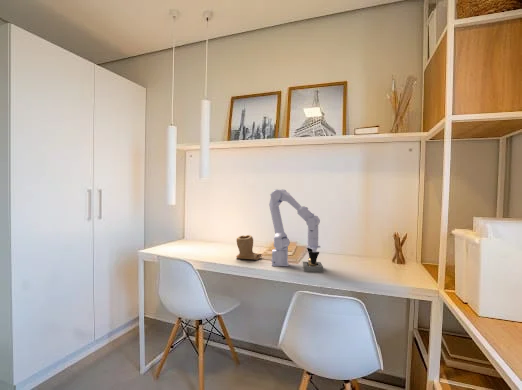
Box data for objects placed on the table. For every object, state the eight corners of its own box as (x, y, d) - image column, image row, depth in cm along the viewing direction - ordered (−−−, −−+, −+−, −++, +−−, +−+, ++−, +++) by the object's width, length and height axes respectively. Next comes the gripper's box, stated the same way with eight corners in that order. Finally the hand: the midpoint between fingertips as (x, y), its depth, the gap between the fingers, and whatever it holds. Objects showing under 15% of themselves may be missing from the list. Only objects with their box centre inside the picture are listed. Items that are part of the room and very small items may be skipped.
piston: (308, 270, 154) (309, 259, 154) (307, 268, 159) (307, 257, 158) (317, 270, 154) (317, 259, 154) (315, 268, 159) (315, 257, 159)
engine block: (304, 271, 152) (304, 266, 152) (302, 266, 162) (302, 261, 162) (323, 272, 151) (323, 266, 151) (320, 267, 161) (320, 261, 161)
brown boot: (232, 260, 175) (233, 236, 174) (240, 256, 186) (240, 233, 186) (255, 262, 170) (256, 237, 170) (262, 258, 181) (262, 234, 181)
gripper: (322, 240, 149) (322, 266, 149) (318, 235, 163) (318, 259, 163) (308, 240, 149) (308, 265, 149) (306, 235, 163) (305, 259, 164)
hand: (312, 262), depth 156 cm, fingers open, 7 cm apart
